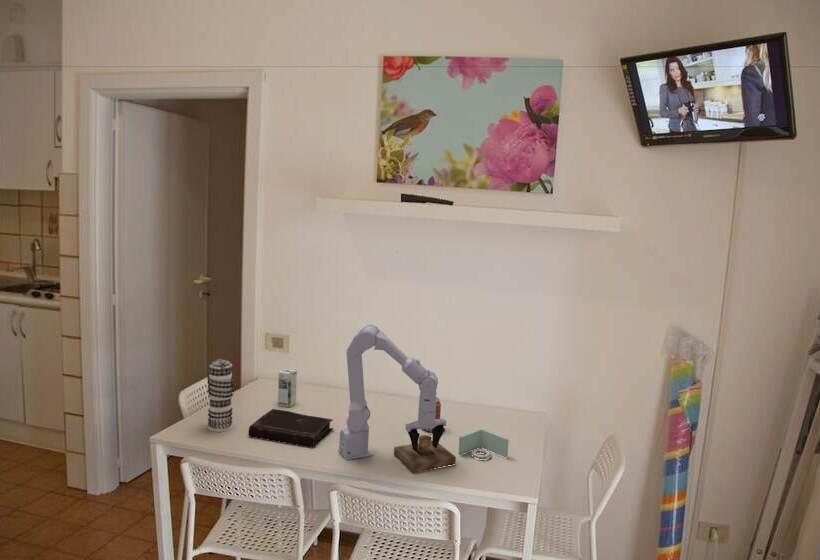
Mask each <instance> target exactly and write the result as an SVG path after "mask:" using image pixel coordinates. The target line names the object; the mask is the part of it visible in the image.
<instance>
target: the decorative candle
mask: <svg viewBox="0 0 820 560" xmlns="http://www.w3.org/2000/svg"><path fill="white" fill-rule="evenodd" d="M208 367H209V374H208V375H207V378H206V379H207V384H208V385H207V393H208V396H207V397H208V399H209V407H208V409H207V410H208V411H207V412H208V414H207V416H208V418H207V425H208V427H207V429H208V430H210V431H211V432H217V433H219V432H226V431H229V430H231V429H232V427H233V409H234V408H233V407H232V398H233V396H234V394H233V393H234V389H232V388H234V384H233V383H234V381H235V380H234V379H232V377H233V376H234V374H233V372H232V367H233V364H232V363H231V362H230V360H228V359H220V358H219V359H215V360H213V361H212V362H211V364H209V365H208Z"/></svg>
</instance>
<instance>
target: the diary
mask: <svg viewBox="0 0 820 560" xmlns="http://www.w3.org/2000/svg"><path fill="white" fill-rule="evenodd" d="M332 421H334V419H332V418H327V417H326V418H325V417H321V416H320V417H319V416H313V415H307V414H302V413H297V412H294V411H290V410H289V411H288V410H282V409H276V408H271V410H269V411H268V412H266V413H265V414H263V415H262V416H260V417H259V418H258V419H257V420H256V421H254V422H253V423H252V424H250V426H249V427H248V437H249V436H250V437H249V438H253V437H257V438H256V439H260V438H263V439H262V440H266V439H269V440H268V441H271V440H275V441H274V442H277V441H280V442H279V443H282V442H286V443H285V444H288V443H292V444H291V445H295V444H298V445H297V446H300V445H302V446H301V447H306V446H307V448H311V447H312V448H311V449H314V448H315V445H316V444H317V443H318V442H319V441H320V440H321V439H325V438H326V436H328V435H329V434H330V433H331V432H332V431H333V430H334V427H331V424H332V423H331V422H332ZM318 440H319V441H318Z"/></svg>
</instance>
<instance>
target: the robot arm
mask: <svg viewBox="0 0 820 560" xmlns="http://www.w3.org/2000/svg"><path fill="white" fill-rule="evenodd" d="M373 347H374V348H373ZM372 348H373V350H374V351H384V352H385V353H386V354H387V355H389V356H390V357H391V358H392V359H394V361H396V362H397V363H398V364H399V365H401V371H402V372H403V374H405V375H406V376H407V377H408V378H409V379H411V380H412V381H413V382H414V383H415V384H416V385H418V389H419V392H420V393H419V398H418V413H417V420H415V421H412V422H409V423H405V431H407V434H408V436H409V439H410V443H411V444H412V449H413V450H414V451H417V449H418V443H419V436H421V434H420V433H419V432H418V430H422V429H423V430H424V428H429V429H432V437H431V438H432V439H431V441H432V446H433V447H435V448H437V446H438V443H439V442H440V440H441V437H443V435H444V433H445V431H446V428H445V427H446V426H447V419H444V418H440V419H435V413H436V397H437V389H438V383H439V381H438V376H437V375H436V374H435V372H432V371H431V370H429V369H427V368H426V367H424V366H423V365H422V364H421V360H419V359H418V358H417V359H416V358H414V357H409V356H407V355H406V354H405V353H404V352H403V351H402V350H401V349H400V348H399V347H398V346H397V345H396V344H395V343H394V342H393V341H392V340H391V339H390V338H389V337H388V336H387V335H386V334H385V332H384V331H383V330H380V329H379V328H378V326H376V325H373V324H369V325H368V324H367V325H366V326H364V327H363V328H362V329H361V330H359V331H358V333H357V334H356V335H354V336H353V338H352V341H351V342H350V344H349V346H348V347H347V350H346V364H347V365H346V366H347V376H348V390H349V391H348V392H349V402H350V403H349V408H348V417H347V419H346V426H347V427H346V428H345V429H341V430H340V431H339V444H338V446H339V447H338V452H339V453H340V455H342V457H343V458H344V459H345V460H348V461H349V460H352V459H353V460H354V459H359V458H365V457H366V458H367V457H372V456H373V453H372V452H371V451H370V450H369V437H370V436H369V433H370V426H369V425H368V420H369V419H370V418H371V411H370V409H369V407H368V402H367V400H366V398H365V397H366V395H365V380H364V367H363V356H362V355H363V354H364V353H365V352H366V351H368V350H371V349H372ZM439 444H440V443H439Z"/></svg>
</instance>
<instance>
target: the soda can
mask: <svg viewBox="0 0 820 560" xmlns="http://www.w3.org/2000/svg"><path fill="white" fill-rule="evenodd" d="M441 407H442V404H441V401H440V399H439V397H437V396H436V413H435V419H441V410H442V409H441ZM423 430H424V431H425V430H426V432H428V431H432V429H429V428H424V429H423Z"/></svg>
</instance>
